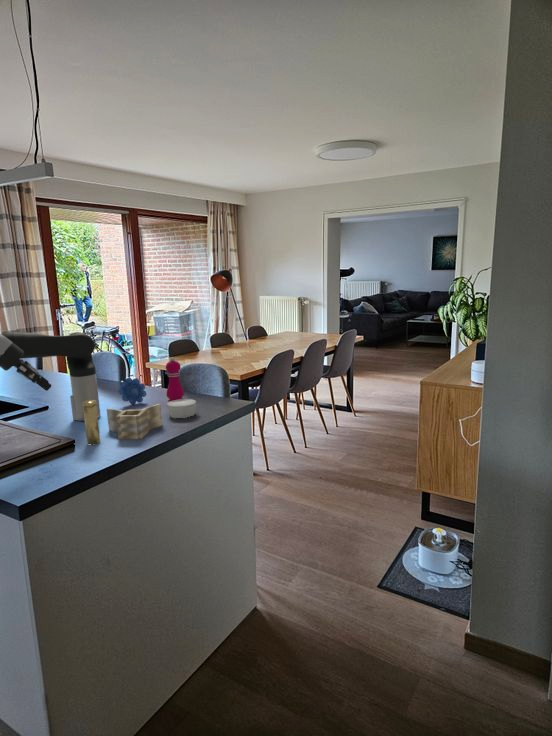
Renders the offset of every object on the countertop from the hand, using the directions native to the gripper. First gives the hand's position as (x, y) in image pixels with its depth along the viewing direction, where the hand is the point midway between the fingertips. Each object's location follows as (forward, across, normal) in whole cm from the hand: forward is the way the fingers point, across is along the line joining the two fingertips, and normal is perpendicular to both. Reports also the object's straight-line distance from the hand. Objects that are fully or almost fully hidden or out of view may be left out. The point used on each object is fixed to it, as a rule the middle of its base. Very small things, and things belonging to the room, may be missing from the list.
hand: (48, 386), depth 146 cm
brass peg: (+23, -2, -6) cm, 24 cm away
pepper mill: (+48, -33, +24) cm, 63 cm away
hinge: (+32, -6, +4) cm, 33 cm away
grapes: (+38, -43, +13) cm, 59 cm away
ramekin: (+46, -15, +21) cm, 53 cm away
